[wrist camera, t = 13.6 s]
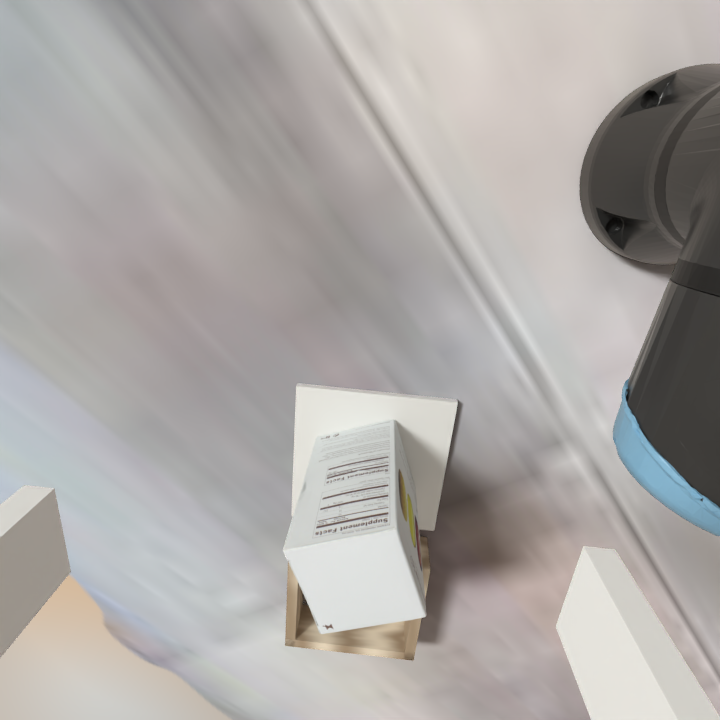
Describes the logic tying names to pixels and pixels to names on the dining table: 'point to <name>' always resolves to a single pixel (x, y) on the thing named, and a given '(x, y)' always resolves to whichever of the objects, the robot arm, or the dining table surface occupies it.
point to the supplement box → (358, 532)
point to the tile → (365, 407)
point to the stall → (365, 641)
